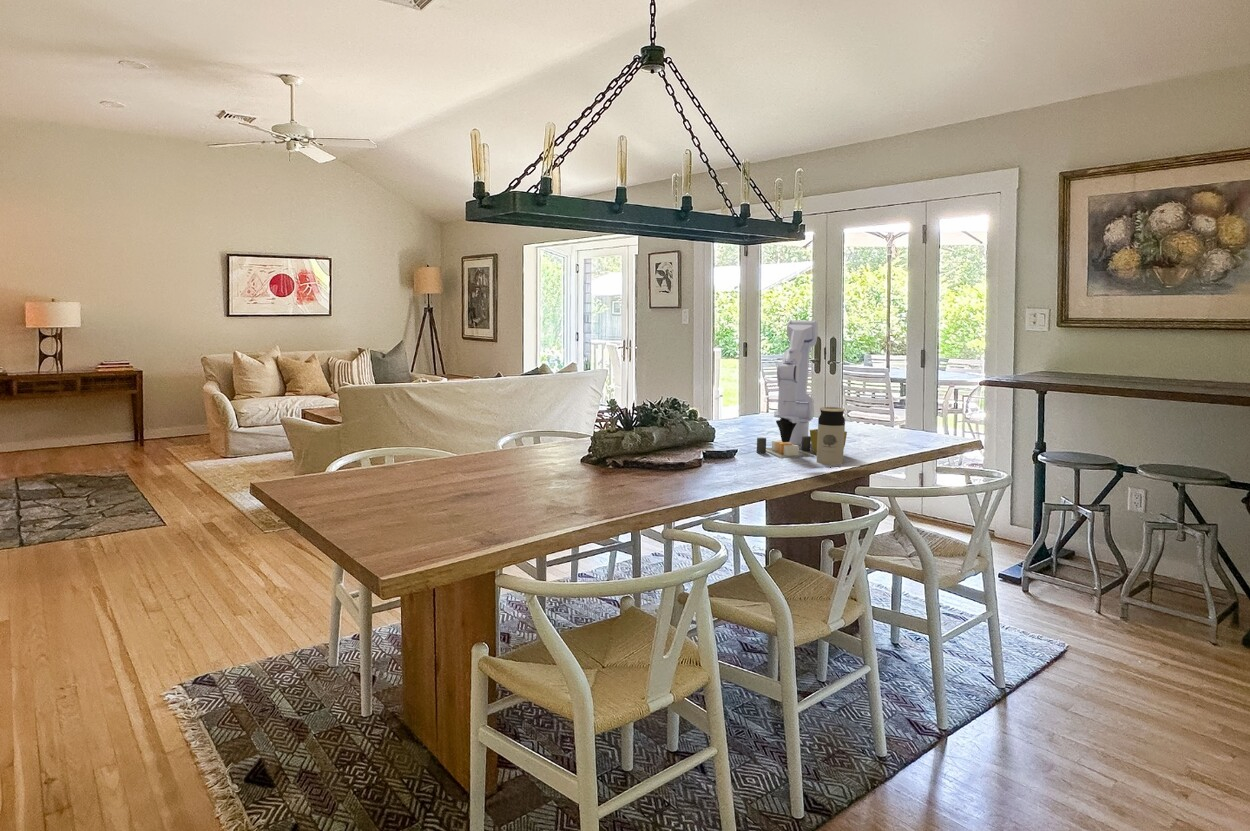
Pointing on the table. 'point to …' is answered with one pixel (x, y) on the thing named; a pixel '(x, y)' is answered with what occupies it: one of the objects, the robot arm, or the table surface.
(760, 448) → the cord post
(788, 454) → the block
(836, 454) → the travel mug
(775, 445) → the block
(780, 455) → the panel
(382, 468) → the table surface
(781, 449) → the block
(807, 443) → the cylinder
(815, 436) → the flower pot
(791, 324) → the robot arm
